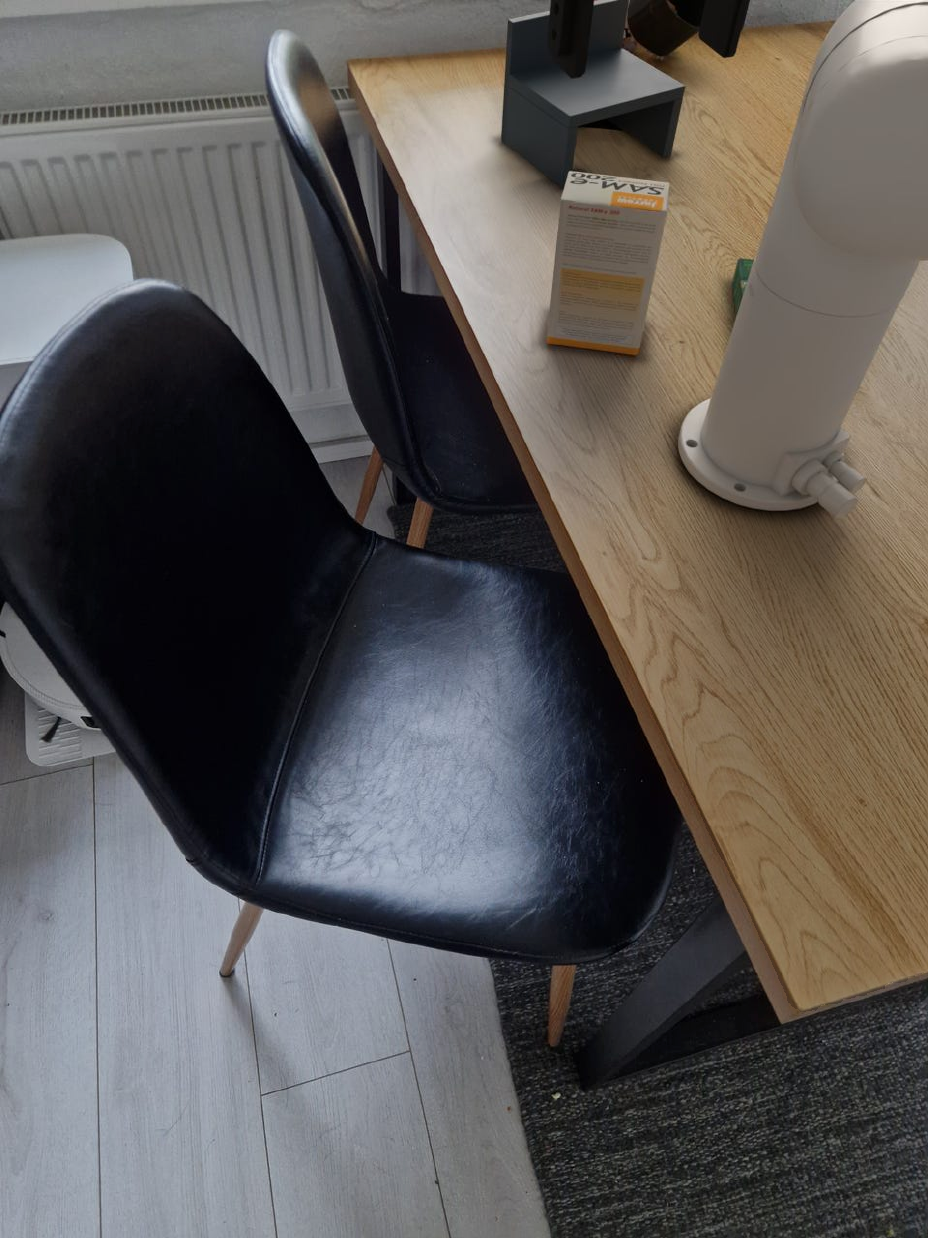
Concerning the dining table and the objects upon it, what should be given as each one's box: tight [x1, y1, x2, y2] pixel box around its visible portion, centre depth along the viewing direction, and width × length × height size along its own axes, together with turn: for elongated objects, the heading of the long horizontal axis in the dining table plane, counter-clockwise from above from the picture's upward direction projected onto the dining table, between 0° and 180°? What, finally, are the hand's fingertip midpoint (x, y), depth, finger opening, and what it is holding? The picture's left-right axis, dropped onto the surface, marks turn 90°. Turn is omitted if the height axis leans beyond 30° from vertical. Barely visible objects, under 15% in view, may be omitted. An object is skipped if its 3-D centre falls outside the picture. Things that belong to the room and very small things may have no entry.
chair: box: [500, 0, 686, 189], centre depth 94 cm, size 12×15×12 cm
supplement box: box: [546, 171, 670, 356], centre depth 73 cm, size 8×5×13 cm, turn 78°
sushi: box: [625, 0, 706, 61], centre depth 110 cm, size 8×8×8 cm
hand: (642, 58), depth 51 cm, fingers open, 9 cm apart
